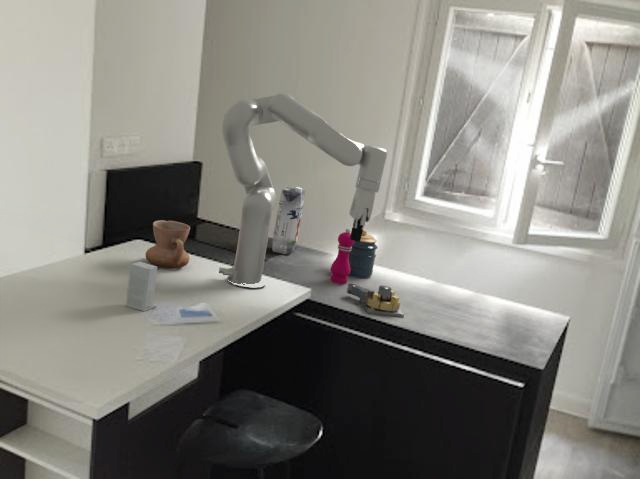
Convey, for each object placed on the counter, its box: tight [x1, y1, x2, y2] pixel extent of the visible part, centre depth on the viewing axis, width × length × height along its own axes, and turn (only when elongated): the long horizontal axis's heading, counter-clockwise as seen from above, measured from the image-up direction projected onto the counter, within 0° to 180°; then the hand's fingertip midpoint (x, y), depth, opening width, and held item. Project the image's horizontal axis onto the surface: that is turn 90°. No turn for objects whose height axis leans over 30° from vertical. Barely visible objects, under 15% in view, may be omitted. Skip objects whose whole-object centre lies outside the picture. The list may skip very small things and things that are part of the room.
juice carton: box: [271, 186, 306, 256], centre depth 279 cm, size 9×10×27 cm
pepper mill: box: [329, 227, 354, 285], centre depth 249 cm, size 7×7×20 cm
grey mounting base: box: [359, 284, 405, 318], centre depth 227 cm, size 12×12×8 cm
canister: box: [348, 228, 378, 279], centre depth 266 cm, size 13×13×18 cm
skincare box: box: [125, 261, 158, 312], centre depth 187 cm, size 6×4×12 cm
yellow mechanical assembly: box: [346, 283, 401, 311], centre depth 229 cm, size 19×11×4 cm, turn 52°
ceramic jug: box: [145, 219, 191, 270], centre depth 231 cm, size 18×14×14 cm
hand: (354, 240), depth 224 cm, fingers closed
